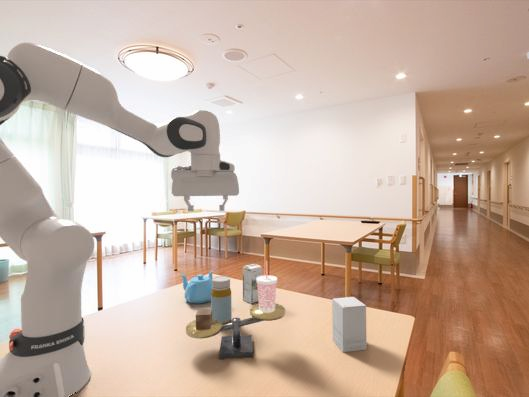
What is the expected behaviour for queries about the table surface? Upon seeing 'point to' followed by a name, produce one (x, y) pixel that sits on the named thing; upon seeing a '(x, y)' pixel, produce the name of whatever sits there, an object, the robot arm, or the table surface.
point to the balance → (235, 332)
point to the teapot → (198, 288)
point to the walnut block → (203, 319)
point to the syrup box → (251, 282)
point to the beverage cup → (266, 292)
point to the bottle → (221, 299)
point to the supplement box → (349, 324)
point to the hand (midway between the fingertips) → (206, 211)
